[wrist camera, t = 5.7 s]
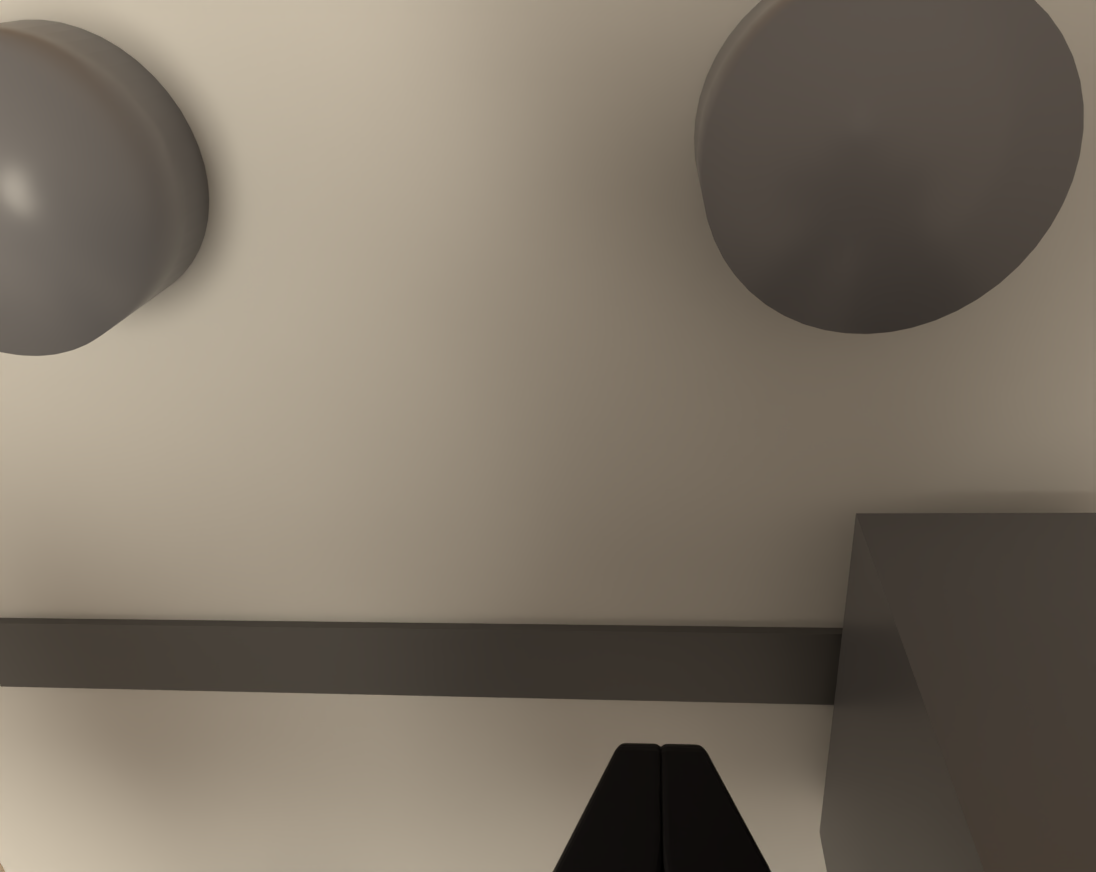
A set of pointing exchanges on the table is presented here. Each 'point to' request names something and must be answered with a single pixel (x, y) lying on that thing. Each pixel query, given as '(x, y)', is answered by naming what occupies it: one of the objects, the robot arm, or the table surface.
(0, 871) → the table surface
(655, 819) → the robot arm
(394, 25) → the mixer console
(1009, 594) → the fader
